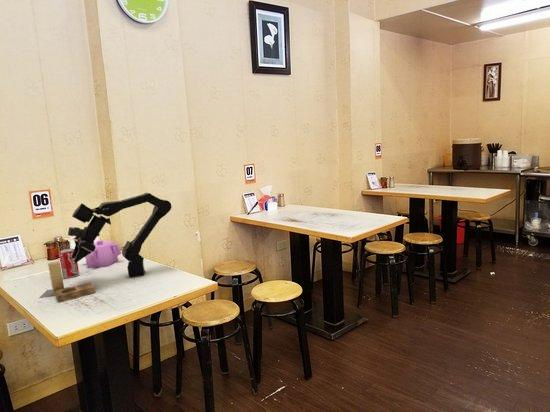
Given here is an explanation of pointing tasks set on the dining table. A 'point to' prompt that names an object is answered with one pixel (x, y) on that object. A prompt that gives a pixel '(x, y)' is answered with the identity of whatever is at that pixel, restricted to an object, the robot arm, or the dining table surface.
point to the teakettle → (103, 254)
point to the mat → (48, 293)
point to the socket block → (74, 292)
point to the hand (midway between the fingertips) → (73, 260)
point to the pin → (56, 276)
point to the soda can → (68, 264)
